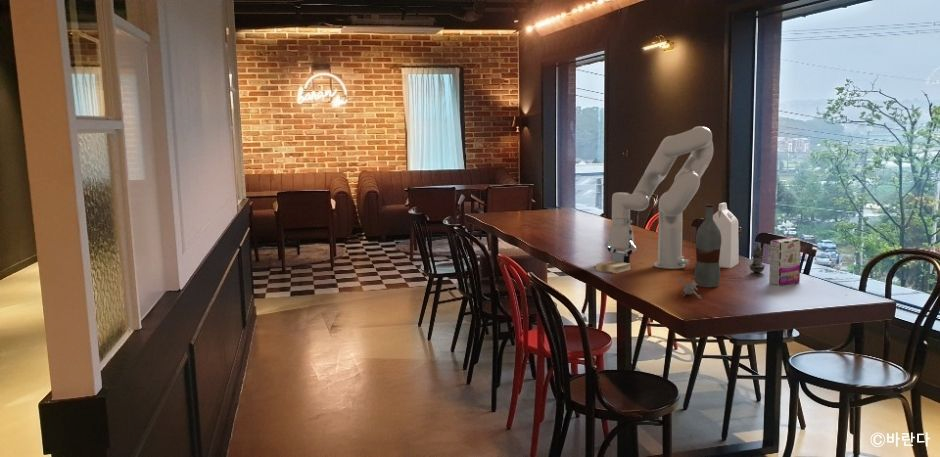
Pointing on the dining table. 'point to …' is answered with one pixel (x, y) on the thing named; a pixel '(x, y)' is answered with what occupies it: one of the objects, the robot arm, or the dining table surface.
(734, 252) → the milk
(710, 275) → the bottle
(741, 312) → the dining table surface
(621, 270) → the beech block
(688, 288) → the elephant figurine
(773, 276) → the candy bar box
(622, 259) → the slate cube
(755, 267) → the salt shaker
